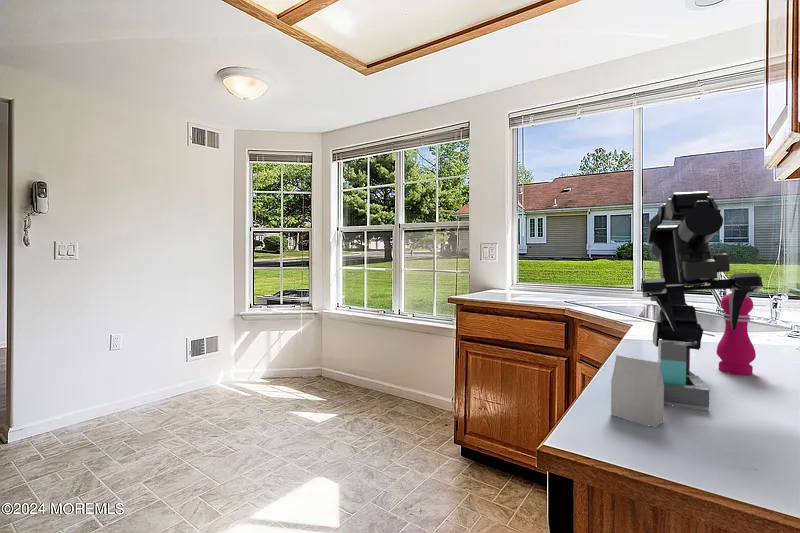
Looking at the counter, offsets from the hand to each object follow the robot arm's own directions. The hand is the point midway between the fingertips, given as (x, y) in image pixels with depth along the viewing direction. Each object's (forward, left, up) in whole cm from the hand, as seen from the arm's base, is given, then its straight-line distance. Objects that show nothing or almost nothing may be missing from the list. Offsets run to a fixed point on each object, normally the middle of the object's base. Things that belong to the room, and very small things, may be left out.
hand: (703, 330), depth 80 cm
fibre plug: (+2, -6, -12) cm, 14 cm away
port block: (+2, -6, -13) cm, 14 cm away
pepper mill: (-24, +14, -13) cm, 31 cm away
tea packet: (+15, -14, -13) cm, 25 cm away
